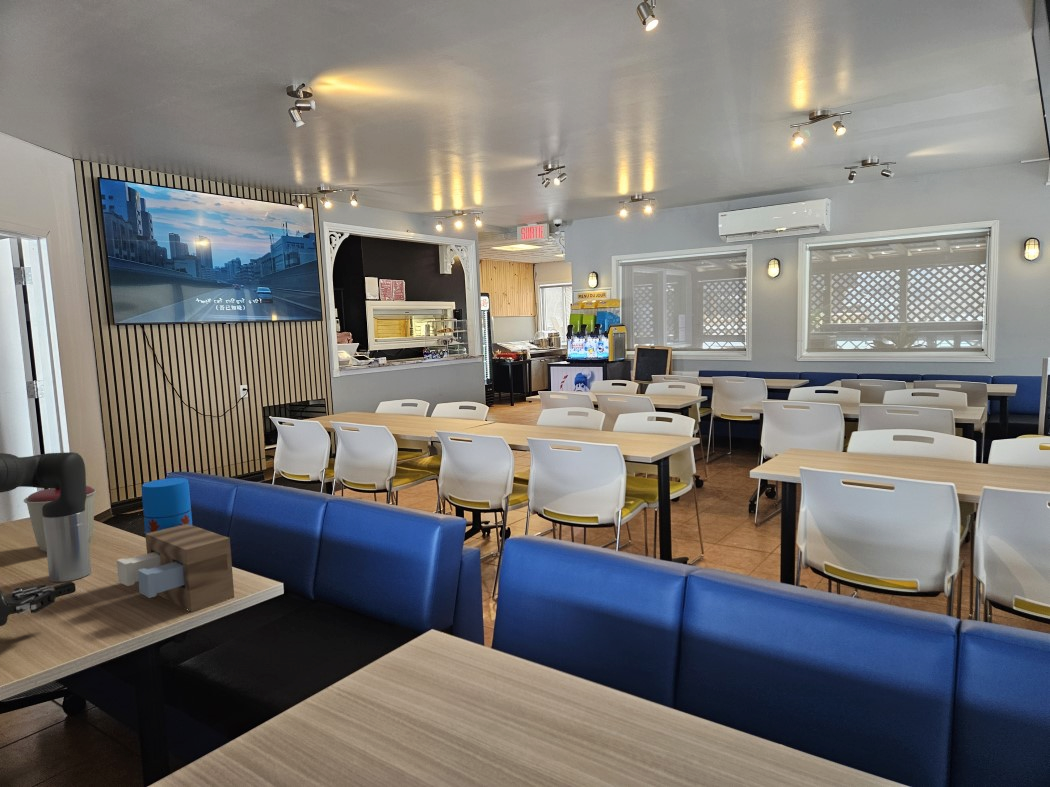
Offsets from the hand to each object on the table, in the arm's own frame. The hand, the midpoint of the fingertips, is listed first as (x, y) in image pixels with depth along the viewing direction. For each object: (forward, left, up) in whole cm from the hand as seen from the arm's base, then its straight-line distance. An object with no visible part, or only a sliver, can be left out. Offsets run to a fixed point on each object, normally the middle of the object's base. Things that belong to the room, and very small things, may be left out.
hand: (74, 586), depth 143 cm
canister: (-66, +17, -8) cm, 69 cm away
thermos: (-11, +25, -8) cm, 29 cm away
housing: (+6, +22, -8) cm, 24 cm away
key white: (0, +15, -3) cm, 16 cm away
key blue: (+12, +15, -3) cm, 20 cm away
